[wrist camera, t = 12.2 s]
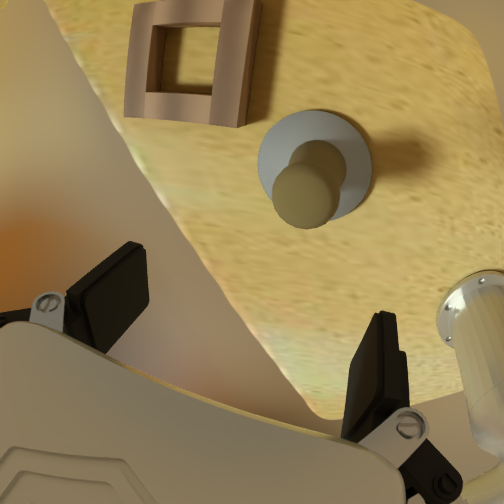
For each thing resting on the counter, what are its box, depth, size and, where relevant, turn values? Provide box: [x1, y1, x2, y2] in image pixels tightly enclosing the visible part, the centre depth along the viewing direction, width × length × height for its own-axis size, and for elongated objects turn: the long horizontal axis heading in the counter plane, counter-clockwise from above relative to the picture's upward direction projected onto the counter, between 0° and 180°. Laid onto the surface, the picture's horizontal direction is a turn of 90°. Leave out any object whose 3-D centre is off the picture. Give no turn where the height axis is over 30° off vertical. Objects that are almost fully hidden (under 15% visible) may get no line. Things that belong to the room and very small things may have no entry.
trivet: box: [258, 110, 372, 221], centre depth 32 cm, size 12×12×1 cm
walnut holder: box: [124, 0, 262, 128], centre depth 29 cm, size 14×14×3 cm
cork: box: [272, 140, 347, 229], centre depth 27 cm, size 6×6×11 cm
